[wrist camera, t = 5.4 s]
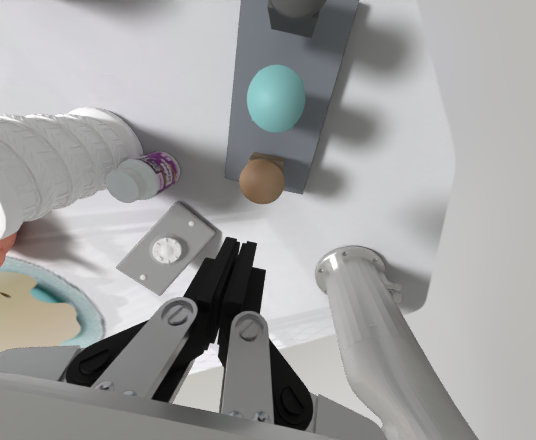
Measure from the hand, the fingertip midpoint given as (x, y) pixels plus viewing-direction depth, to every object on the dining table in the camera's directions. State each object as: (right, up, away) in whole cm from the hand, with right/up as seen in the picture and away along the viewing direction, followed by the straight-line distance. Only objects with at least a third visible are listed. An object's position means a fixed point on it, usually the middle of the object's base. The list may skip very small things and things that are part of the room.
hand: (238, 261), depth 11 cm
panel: (+3, +18, +16) cm, 24 cm away
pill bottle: (-15, +11, +21) cm, 28 cm away
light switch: (-15, -1, +28) cm, 32 cm away
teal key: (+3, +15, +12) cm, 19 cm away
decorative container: (-23, +13, +21) cm, 34 cm away
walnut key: (+1, +9, +17) cm, 19 cm away
